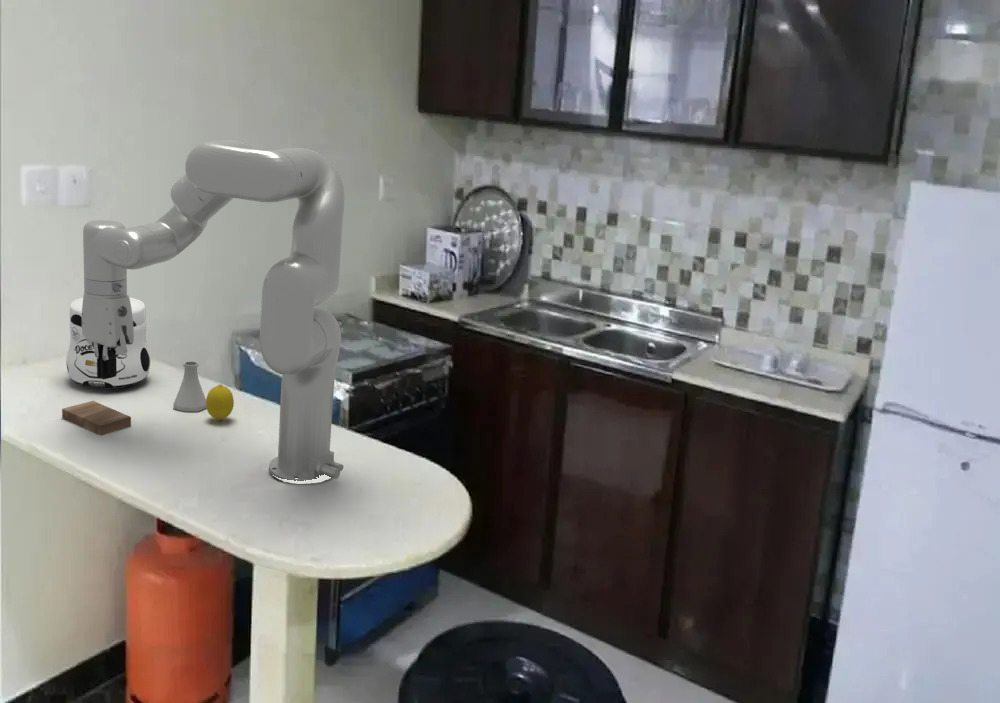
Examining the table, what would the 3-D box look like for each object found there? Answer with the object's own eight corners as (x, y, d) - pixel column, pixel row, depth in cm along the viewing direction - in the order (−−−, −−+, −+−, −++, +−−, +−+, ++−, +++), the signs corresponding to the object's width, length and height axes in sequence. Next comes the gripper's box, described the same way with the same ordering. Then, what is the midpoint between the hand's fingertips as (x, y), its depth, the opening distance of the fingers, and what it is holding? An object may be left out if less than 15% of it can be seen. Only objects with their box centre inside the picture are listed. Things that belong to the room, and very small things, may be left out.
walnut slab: (130, 416, 186) (93, 400, 192) (100, 425, 180) (62, 408, 186) (130, 428, 187) (93, 411, 193) (100, 437, 181) (62, 420, 187)
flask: (201, 414, 197) (202, 370, 194) (167, 410, 197) (167, 366, 194) (212, 402, 204) (213, 359, 201) (179, 399, 204) (180, 355, 201)
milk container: (83, 399, 197) (81, 318, 192) (55, 374, 209) (53, 297, 204) (162, 387, 209) (163, 310, 204) (132, 364, 221) (132, 291, 215)
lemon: (200, 421, 193) (200, 385, 190) (216, 413, 198) (217, 378, 196) (222, 427, 191) (223, 391, 189) (238, 419, 196) (239, 383, 194)
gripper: (148, 291, 176) (148, 382, 182) (97, 275, 183) (99, 363, 189) (114, 297, 170) (115, 391, 176) (63, 280, 177) (65, 371, 183)
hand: (106, 376), depth 182 cm, fingers closed
